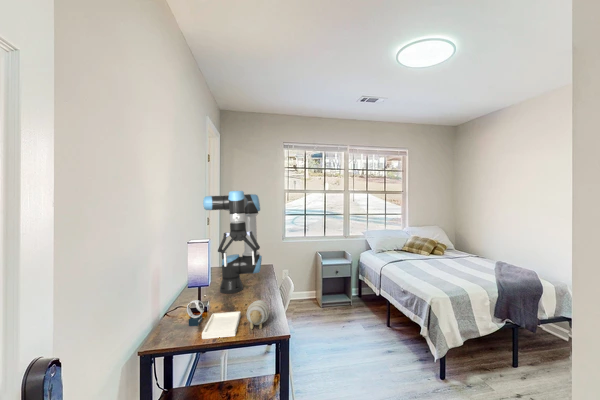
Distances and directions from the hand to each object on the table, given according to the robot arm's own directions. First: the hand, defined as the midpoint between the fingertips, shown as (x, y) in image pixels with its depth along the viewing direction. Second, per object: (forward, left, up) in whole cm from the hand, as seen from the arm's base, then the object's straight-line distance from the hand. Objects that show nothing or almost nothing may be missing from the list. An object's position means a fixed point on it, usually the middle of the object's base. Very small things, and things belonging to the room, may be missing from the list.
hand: (239, 265), depth 125 cm
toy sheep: (+5, +9, -28) cm, 30 cm away
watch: (-2, -22, -28) cm, 36 cm away
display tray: (+4, -8, -28) cm, 29 cm away
